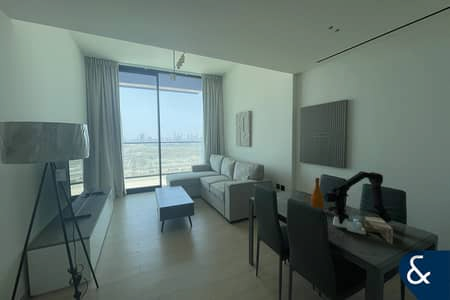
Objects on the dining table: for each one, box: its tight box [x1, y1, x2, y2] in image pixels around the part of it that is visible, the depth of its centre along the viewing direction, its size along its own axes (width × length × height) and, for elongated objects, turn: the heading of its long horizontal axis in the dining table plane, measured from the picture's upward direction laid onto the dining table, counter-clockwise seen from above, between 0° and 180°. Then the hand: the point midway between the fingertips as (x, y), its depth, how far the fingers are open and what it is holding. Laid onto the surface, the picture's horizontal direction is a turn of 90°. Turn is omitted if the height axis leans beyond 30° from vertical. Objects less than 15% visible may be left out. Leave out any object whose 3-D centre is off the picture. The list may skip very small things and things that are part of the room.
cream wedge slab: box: [364, 216, 394, 246], centre depth 123 cm, size 16×9×10 cm, turn 161°
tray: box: [332, 216, 367, 235], centre depth 135 cm, size 12×18×6 cm, turn 71°
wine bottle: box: [310, 177, 324, 211], centre depth 167 cm, size 10×10×30 cm
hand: (340, 223), depth 137 cm, fingers closed on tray, 2 cm apart
